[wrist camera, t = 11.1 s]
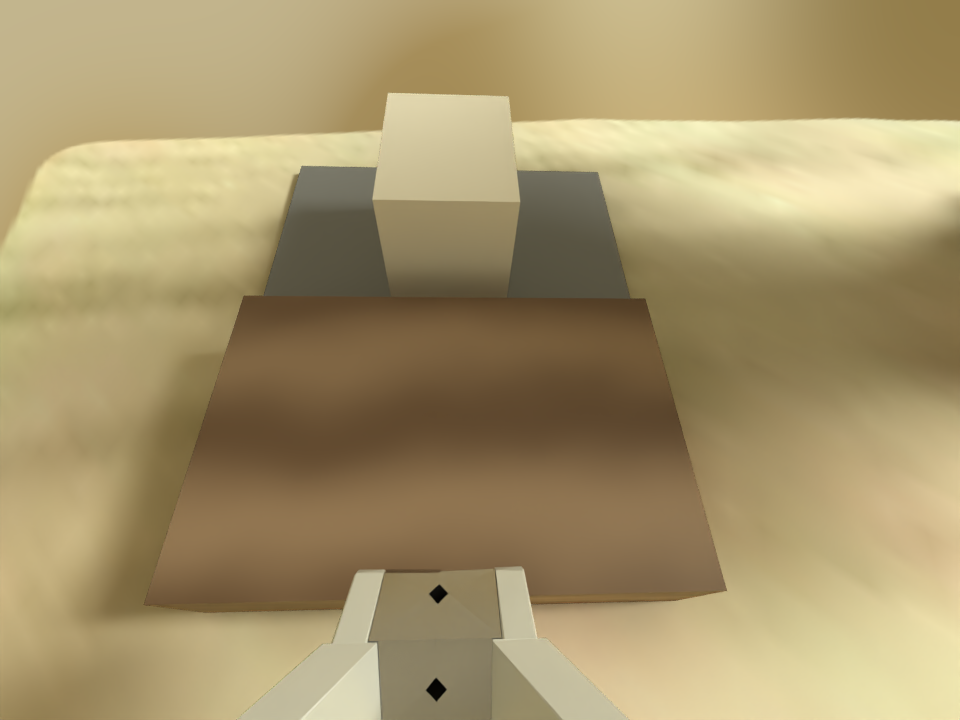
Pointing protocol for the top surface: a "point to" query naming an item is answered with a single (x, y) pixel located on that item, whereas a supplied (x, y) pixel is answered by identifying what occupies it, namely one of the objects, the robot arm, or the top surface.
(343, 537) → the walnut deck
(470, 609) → the robot arm
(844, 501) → the top surface
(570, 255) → the charcoal mat
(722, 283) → the top surface
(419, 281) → the cream block
